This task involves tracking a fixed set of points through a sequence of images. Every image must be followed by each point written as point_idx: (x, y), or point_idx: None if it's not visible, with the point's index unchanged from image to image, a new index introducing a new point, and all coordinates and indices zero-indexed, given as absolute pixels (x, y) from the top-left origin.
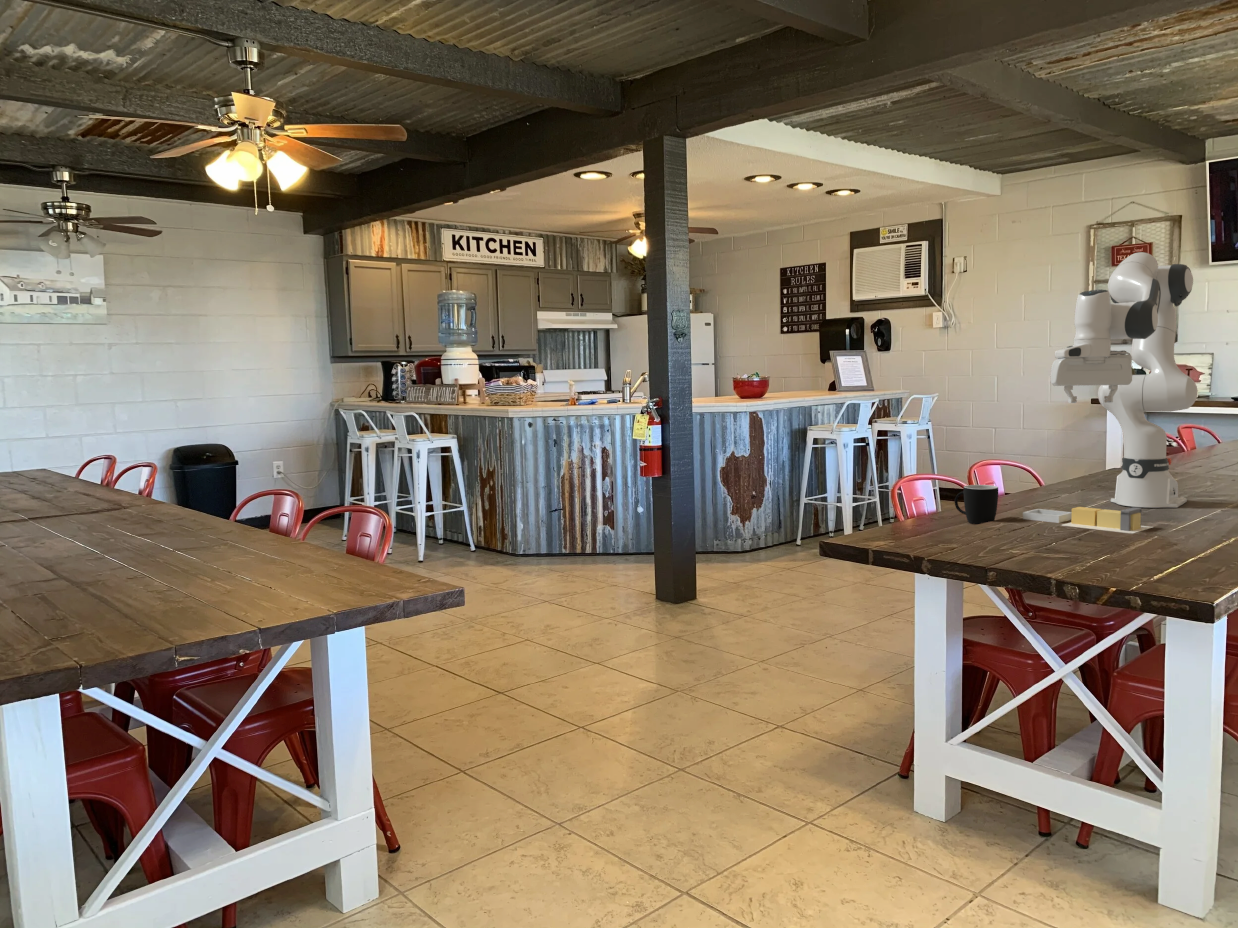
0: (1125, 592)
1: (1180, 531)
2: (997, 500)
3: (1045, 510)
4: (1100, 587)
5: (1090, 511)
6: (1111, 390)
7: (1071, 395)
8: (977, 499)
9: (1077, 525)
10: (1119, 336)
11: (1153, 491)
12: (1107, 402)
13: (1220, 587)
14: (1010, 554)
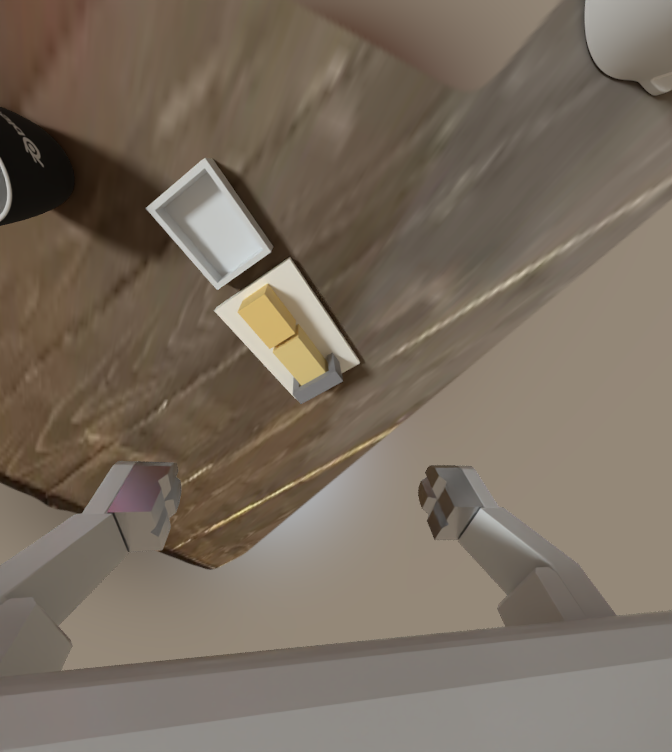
0: (167, 553)
1: (397, 365)
2: (42, 201)
3: (219, 188)
4: None
5: (264, 341)
6: (524, 568)
7: (98, 563)
8: None
9: (245, 322)
10: None
11: (665, 46)
12: (427, 484)
13: (246, 547)
14: (84, 450)
